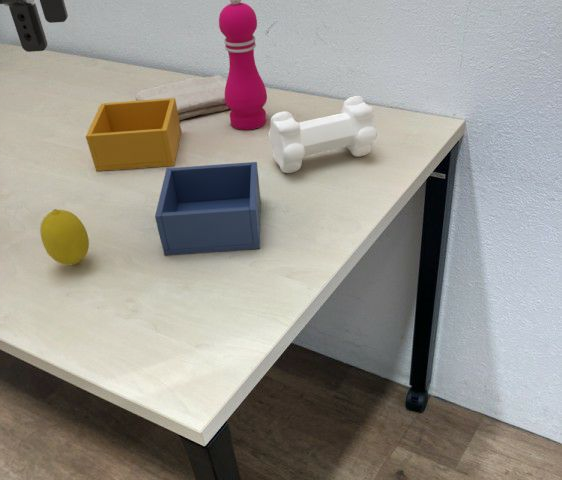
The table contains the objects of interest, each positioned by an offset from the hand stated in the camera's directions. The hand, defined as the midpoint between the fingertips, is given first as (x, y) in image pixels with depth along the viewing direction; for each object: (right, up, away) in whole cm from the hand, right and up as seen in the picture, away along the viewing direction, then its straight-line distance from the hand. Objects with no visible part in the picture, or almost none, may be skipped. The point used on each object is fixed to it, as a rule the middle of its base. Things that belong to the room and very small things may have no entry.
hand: (47, 35), depth 60 cm
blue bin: (+14, -13, +24) cm, 31 cm away
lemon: (-4, -19, +20) cm, 28 cm away
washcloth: (+6, +17, +54) cm, 57 cm away
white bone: (+30, 0, +35) cm, 46 cm away
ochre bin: (0, +4, +42) cm, 42 cm away
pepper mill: (+17, +11, +47) cm, 51 cm away
